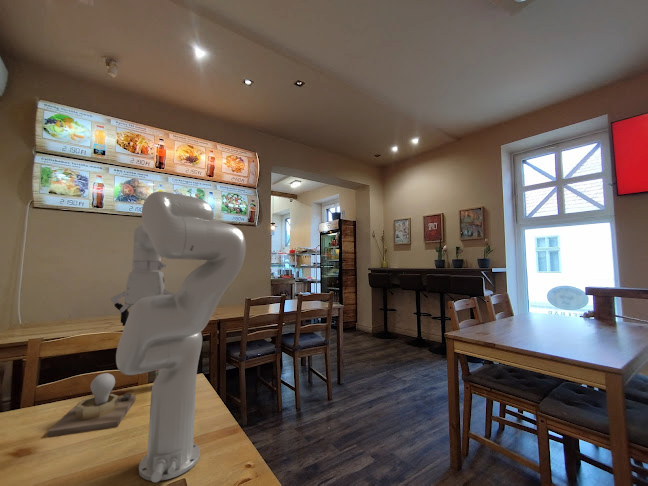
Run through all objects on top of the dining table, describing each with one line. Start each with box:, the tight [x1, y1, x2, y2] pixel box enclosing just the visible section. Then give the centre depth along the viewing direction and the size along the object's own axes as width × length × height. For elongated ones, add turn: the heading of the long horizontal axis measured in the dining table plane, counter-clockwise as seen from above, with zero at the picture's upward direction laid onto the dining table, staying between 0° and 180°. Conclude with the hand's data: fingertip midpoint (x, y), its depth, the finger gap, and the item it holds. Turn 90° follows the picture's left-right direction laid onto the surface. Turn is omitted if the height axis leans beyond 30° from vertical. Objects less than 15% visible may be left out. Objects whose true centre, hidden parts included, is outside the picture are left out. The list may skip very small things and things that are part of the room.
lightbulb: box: [89, 372, 116, 406], centre depth 89 cm, size 6×6×11 cm
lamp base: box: [47, 392, 137, 438], centre depth 88 cm, size 18×16×3 cm
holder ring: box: [75, 393, 120, 420], centre depth 89 cm, size 10×10×3 cm
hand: (143, 323), depth 88 cm, fingers open, 9 cm apart
